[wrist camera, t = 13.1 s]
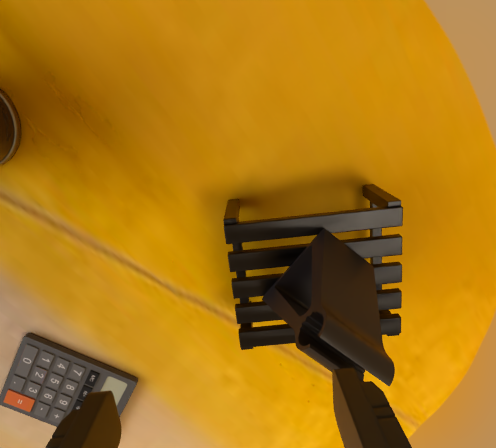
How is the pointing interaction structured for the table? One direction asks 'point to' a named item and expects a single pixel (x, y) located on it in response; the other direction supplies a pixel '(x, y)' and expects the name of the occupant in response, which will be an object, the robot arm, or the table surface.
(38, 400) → the calculator
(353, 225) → the rack
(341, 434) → the robot arm
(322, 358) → the phone stand
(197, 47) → the table surface
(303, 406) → the table surface
